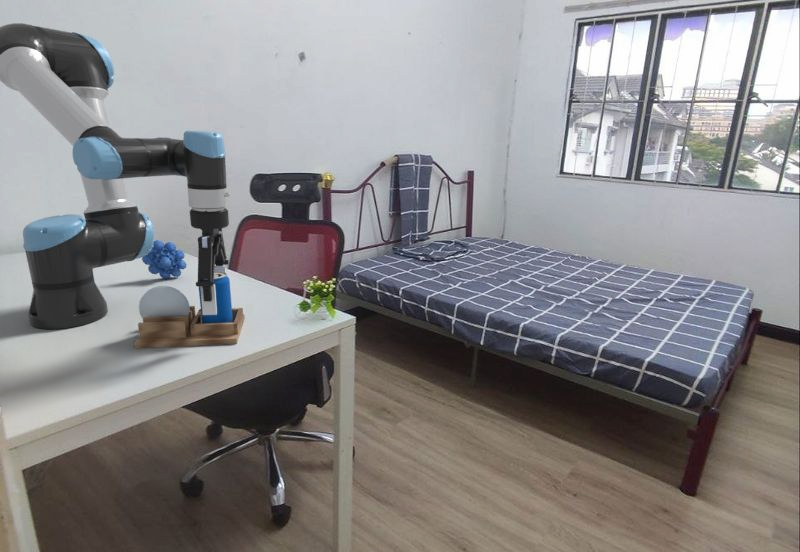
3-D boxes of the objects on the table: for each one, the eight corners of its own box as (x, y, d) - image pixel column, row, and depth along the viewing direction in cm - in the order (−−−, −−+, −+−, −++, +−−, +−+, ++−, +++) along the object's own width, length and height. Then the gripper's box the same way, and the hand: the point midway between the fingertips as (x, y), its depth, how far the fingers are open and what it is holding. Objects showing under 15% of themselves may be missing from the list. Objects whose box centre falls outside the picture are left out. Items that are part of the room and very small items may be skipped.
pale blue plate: (141, 330, 101) (136, 287, 98) (143, 329, 102) (137, 286, 99) (190, 329, 103) (186, 286, 100) (191, 327, 104) (187, 285, 101)
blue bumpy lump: (145, 285, 133) (140, 244, 130) (144, 278, 139) (139, 239, 135) (189, 280, 139) (185, 241, 135) (186, 274, 144) (183, 236, 141)
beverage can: (239, 324, 106) (235, 274, 103) (214, 333, 101) (209, 280, 98) (221, 318, 110) (216, 269, 106) (196, 326, 104) (191, 275, 101)
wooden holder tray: (135, 348, 96) (132, 327, 95) (155, 321, 109) (153, 303, 108) (236, 343, 100) (235, 323, 99) (244, 318, 113) (243, 300, 112)
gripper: (217, 219, 86) (224, 324, 93) (235, 199, 110) (240, 284, 116) (174, 219, 85) (184, 325, 91) (202, 198, 108) (208, 284, 115)
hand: (215, 302), depth 104 cm, fingers open, 13 cm apart
